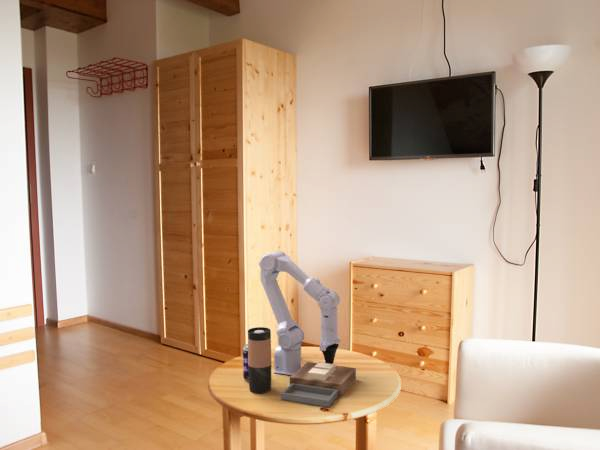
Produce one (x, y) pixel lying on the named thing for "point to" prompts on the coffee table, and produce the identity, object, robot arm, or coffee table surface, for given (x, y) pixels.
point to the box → (309, 395)
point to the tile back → (326, 366)
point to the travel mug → (259, 359)
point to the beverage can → (245, 363)
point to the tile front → (318, 374)
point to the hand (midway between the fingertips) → (329, 365)
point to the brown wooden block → (336, 380)
